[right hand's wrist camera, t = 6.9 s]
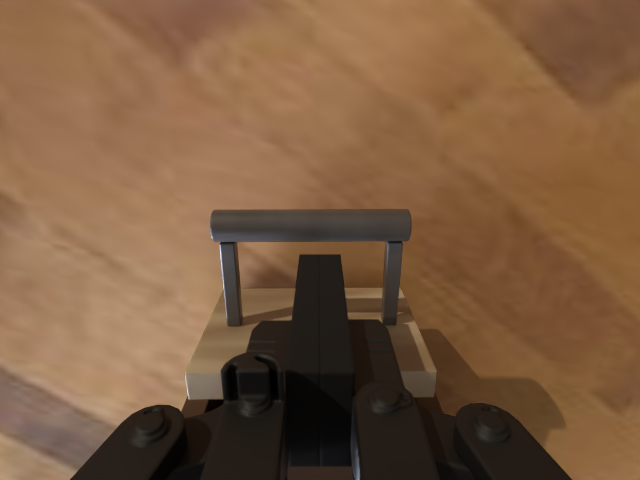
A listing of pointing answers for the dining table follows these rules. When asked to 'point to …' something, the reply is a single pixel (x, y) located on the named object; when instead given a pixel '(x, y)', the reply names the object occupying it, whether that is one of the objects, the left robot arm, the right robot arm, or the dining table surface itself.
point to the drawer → (277, 303)
